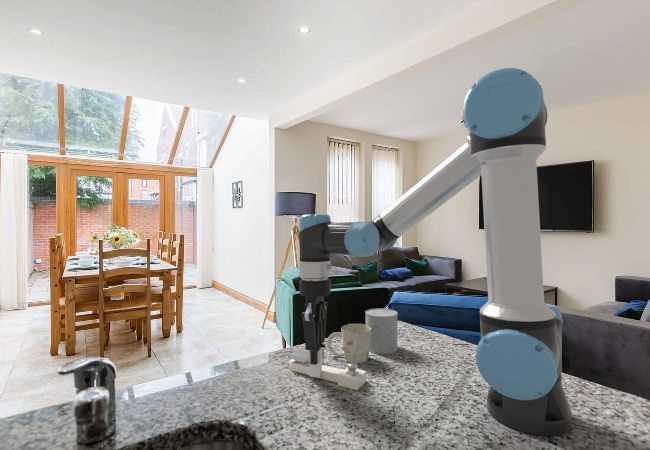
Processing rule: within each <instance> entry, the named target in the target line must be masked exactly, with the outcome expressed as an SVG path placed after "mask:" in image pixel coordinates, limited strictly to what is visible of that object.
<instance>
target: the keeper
mask: <svg viewBox="0 0 650 450" xmlns="http://www.w3.org/2000/svg"><path fill="white" fill-rule="evenodd" d="M321 349H322V365H325V348H321ZM288 359H290V360H291V359H293V360H296V361H300V362H303V363H304V362H306V361H309V350H305V346H304V347H302V348H300V349H298V350H296V351H293V352H291V353H289V354H288Z"/></svg>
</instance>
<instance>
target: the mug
mask: <svg viewBox="0 0 650 450" xmlns="http://www.w3.org/2000/svg"><path fill="white" fill-rule="evenodd" d="M340 330H341V332H339V331H337V332H335V331H334V332H331V334H329V336H328V338H327V339H326V340H327V341H326V346H327V349H328V351H329V352H330V353H331V354H332V355H334V356H336V357H344V360H345V361H346V362H347V363H349V362H355V363H357V364H361V363H366V362H368V361H369V354H370V352H369V347H370V338H371V327H370V326H368V325H366V324H363V323H348V324H345V325H343V326H341V329H340ZM335 338H342V339H341V340H342V347H343V352H336V351H335V350H334V348H333V346H332V342H333V340H334V339H335Z"/></svg>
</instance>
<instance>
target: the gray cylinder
mask: <svg viewBox="0 0 650 450" xmlns="http://www.w3.org/2000/svg"><path fill="white" fill-rule="evenodd" d="M364 313H365V325H368V326H370V327H371V338H370V347H369V353H372V354H377V355H390V354H394V353H396V352H398V315H399V313H398V311H396V310H394V309H390V308H380V307H379V308H370V309H367V310H365V311H364Z"/></svg>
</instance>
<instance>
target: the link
mask: <svg viewBox="0 0 650 450" xmlns="http://www.w3.org/2000/svg"><path fill="white" fill-rule="evenodd" d="M289 370H290V371H293V372H295V373H299V374H304V375H308V376H309V361H306V362H304V363H303V362H300V361H296V360H293V359H290V360H289ZM319 379H322V380H326V381H330V382H334V383H337V386H340V387H344V388H347V389H352V390H354V391H357V390H359V389H360V388H361V387H363V385H364V384H366V383H367V371H366V370H363V369H359V368H356V375H355V376H352V375H348V368H347V367H346V368H344V369H341V368H338V367H337V368H336V367H333V366H329V365H325V364H322V376H321V377H320V378H319Z"/></svg>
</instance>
